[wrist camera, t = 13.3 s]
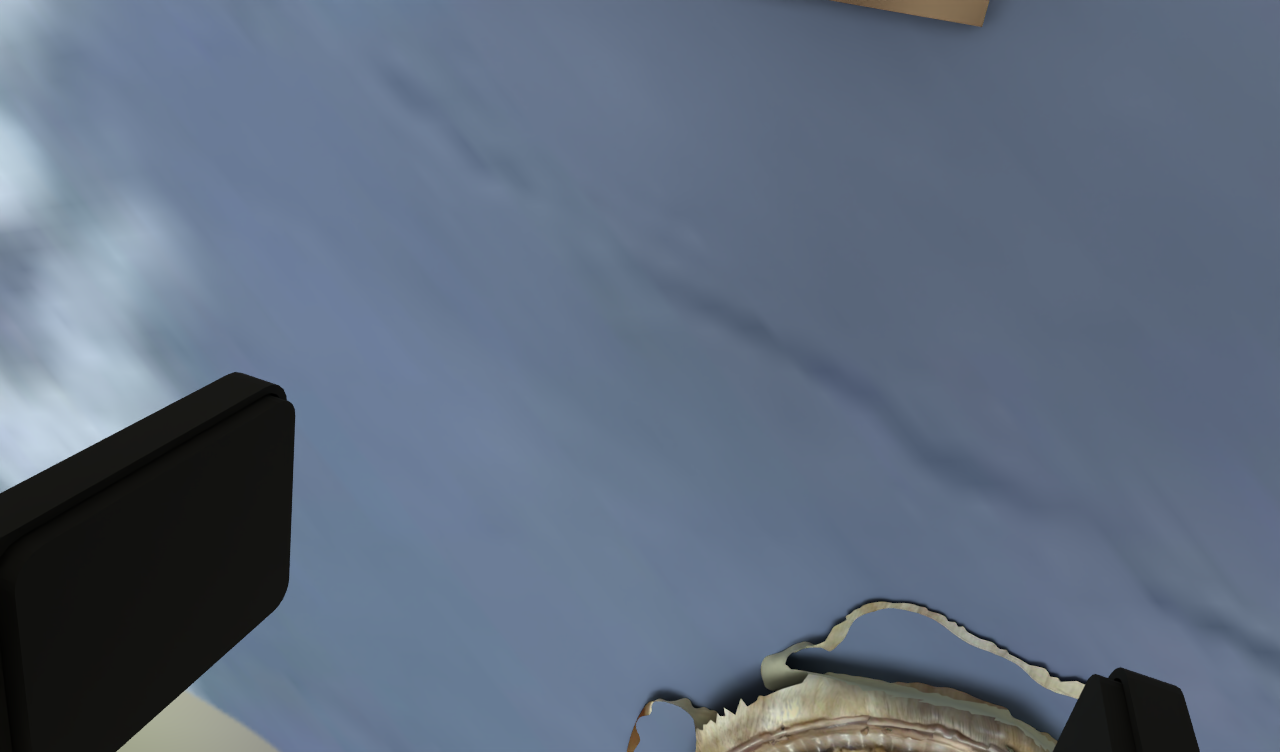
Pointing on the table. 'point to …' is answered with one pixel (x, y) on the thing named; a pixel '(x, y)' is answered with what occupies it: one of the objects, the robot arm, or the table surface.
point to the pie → (867, 709)
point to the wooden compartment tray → (933, 8)
